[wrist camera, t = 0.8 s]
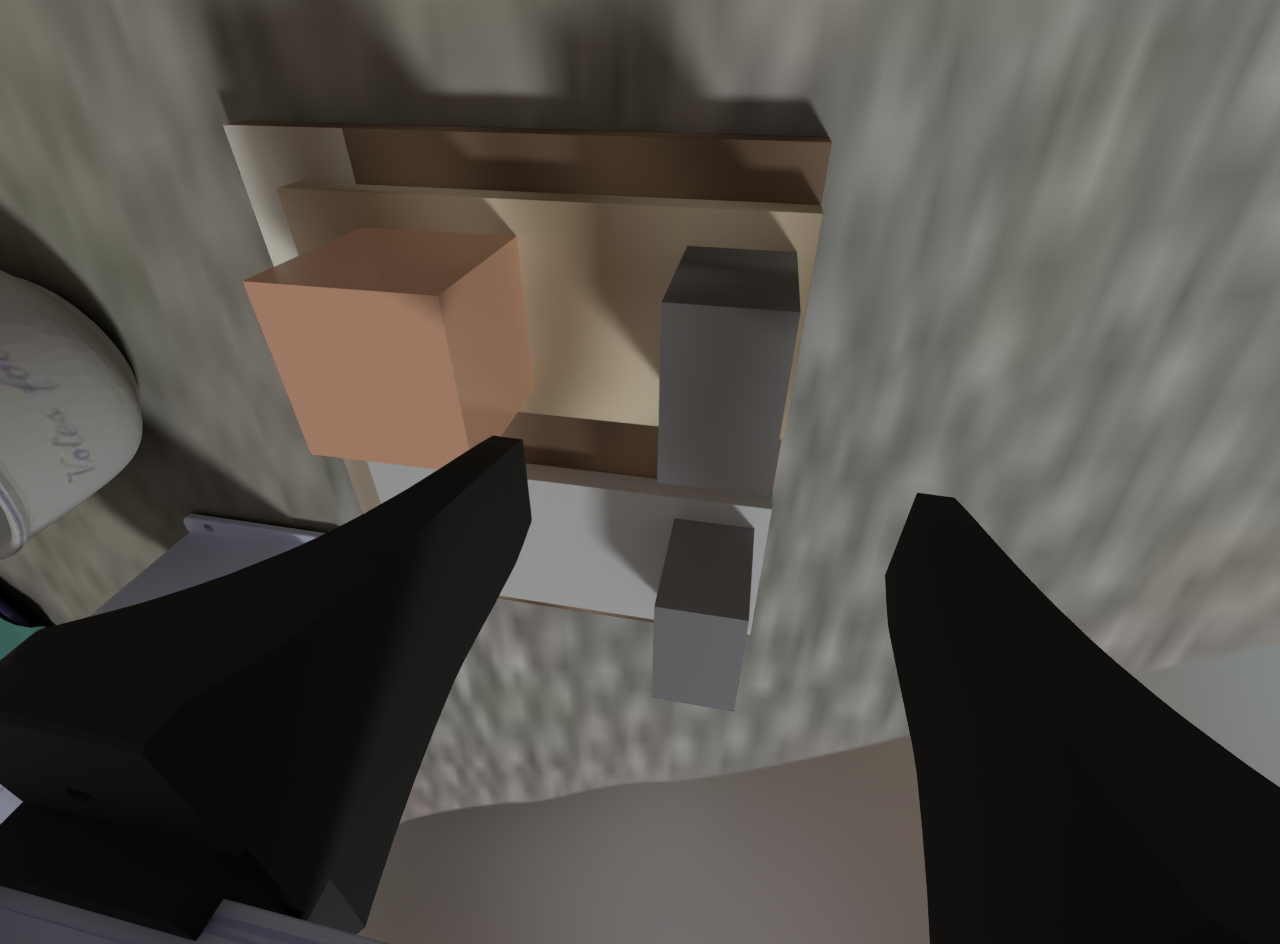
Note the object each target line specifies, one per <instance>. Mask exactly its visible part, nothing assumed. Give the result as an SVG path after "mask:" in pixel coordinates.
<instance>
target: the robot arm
mask: <svg viewBox="0 0 1280 944" xmlns="http://www.w3.org/2000/svg"><path fill="white" fill-rule="evenodd" d="M183 522H184V525H185V526H186V528H187V530H188V531H189V533H188V534H187V535H186V536H185V537H183V538H182V539H181V540H180V541H179V542H177V543H176V544H175V545H174V546H173V547H171V548H170V549H169V550H168V551H167V552H165V553H164V554H163V555H162V556H161V557H160V558H158V559H157V560H156V561H155V562H154V563H152V564H151V565H150V566H149V567H148V568H146V569H145V570H144V571H143V572H142V573H140V574H139V575H138V576H137V577H136V578H134V579H133V580H132V581H131V582H130V583H129V584H127V585H126V586H125V587H124V588H123V589H121V590H120V591H119V592H118V593H117V594H115V595H114V596H113V597H112V598H111V599H109V600H108V601H107V602H106V603H105V604H103V605H102V606H101V607H100V608H99V609H98V610H97V611H96V612H95V613H94V614H93V615H92V616H90V617H87V618H83V619H79V620H75V621H72V622H68V623H64V624H60V625H56V626H52V627H48V628H44V629H40V630H38V631H36V632H35V633H33V634H32V635H31V636H29V637H28V638H27V639H26V640H24V641H23V642H22V643H21V644H19V645H18V646H17V647H16V648H15V649H13V650H12V651H11V652H10V653H8V654H7V655H6V656H5V657H3V658H2V659H1V660H0V944H389V943H386V942H382V941H378V940H375V939H371V938H367V937H363V936H360V935H356V934H357V933H359V932H360V931H361V930H362V929H363V928H365V926H366V923H367V919H368V916H369V913H370V910H371V906H372V903H373V900H374V897H375V894H376V891H377V888H378V885H379V882H380V879H381V876H382V873H383V870H384V867H385V864H386V861H387V858H388V855H389V852H390V848H391V845H392V842H393V839H394V836H395V834H396V831H397V828H398V825H399V823H400V820H401V817H402V814H403V811H404V809H405V806H406V803H407V800H408V797H409V795H410V792H411V789H412V786H413V783H414V781H415V778H416V775H417V773H418V770H419V768H420V765H421V762H422V760H423V757H424V755H425V752H426V749H427V747H428V744H429V742H430V739H431V737H432V734H433V731H434V729H435V726H436V724H437V721H438V719H439V717H440V714H441V712H442V709H443V707H444V704H445V702H446V700H447V697H448V695H449V692H450V690H451V688H452V685H453V683H454V680H455V678H456V676H457V674H458V672H459V670H460V668H461V666H462V664H463V662H464V660H465V658H466V656H467V654H468V652H469V650H470V649H471V647H472V645H473V643H474V641H475V639H476V637H477V636H478V634H479V632H480V630H481V628H482V626H483V625H484V623H485V621H486V619H487V617H488V615H489V613H490V612H491V610H492V608H493V606H494V604H495V602H496V601H497V599H498V597H499V595H500V593H501V591H502V589H503V587H504V586H505V584H506V582H507V580H508V578H509V576H510V574H511V572H512V570H513V568H514V566H515V565H516V562H517V560H518V557H519V554H520V552H521V549H522V547H523V544H524V541H525V539H526V536H527V533H528V530H529V527H530V524H531V522H532V516H531V507H530V498H529V489H528V480H527V471H526V462H525V454H524V445H523V439H516V438H509V437H501V436H494V435H493V436H491V437H489V438H487V439H486V440H484V441H482V442H481V443H479V444H477V445H476V446H474V447H472V448H471V449H469V450H468V451H466V452H465V453H463V454H462V455H460V456H458V457H457V458H455V459H454V460H452V461H451V462H449V463H448V464H446V465H444V466H443V467H441V468H440V469H438V470H437V471H435V472H433V473H432V474H430V475H429V476H427V477H425V478H424V479H422V480H421V481H419V482H417V483H416V484H414V485H413V486H411V487H409V488H408V489H406V490H404V491H403V492H401V493H399V494H397V495H396V496H394V497H392V498H390V499H389V500H387V501H385V502H383V503H382V504H380V505H378V506H376V507H375V508H373V509H371V510H369V511H368V512H366V513H364V514H362V515H361V516H359V517H357V518H355V519H353V520H351V521H349V522H348V523H346V524H344V525H342V526H340V527H338V528H336V529H334V530H332V531H330V532H327V533H321V532H314V531H307V530H301V529H294V528H287V527H280V526H273V525H266V524H259V523H252V522H245V521H239V520H232V519H225V518H218V517H211V516H204V515H197V514H189V515H188V516H187V517H185V518H184V520H183ZM885 582H886V603H887V616H888V628H889V633H890V638H891V643H892V648H893V653H894V658H895V663H896V668H897V673H898V678H899V683H900V688H901V693H902V697H903V702H904V707H905V712H906V717H907V722H908V726H909V731H910V736H911V741H912V746H913V752H914V758H915V765H916V771H917V780H918V790H919V800H920V811H921V821H922V830H923V845H924V856H925V871H926V883H927V897H928V915H929V934H930V944H1280V787H1279V786H1277V785H1276V784H1274V783H1273V782H1271V781H1270V780H1268V779H1267V778H1265V777H1264V776H1263V775H1261V774H1260V773H1258V772H1257V771H1255V770H1254V769H1253V768H1251V767H1250V766H1248V765H1247V764H1245V763H1244V762H1243V761H1241V760H1240V759H1239V758H1237V757H1236V756H1234V755H1233V754H1232V753H1231V752H1229V751H1228V750H1226V749H1225V748H1224V747H1222V746H1221V745H1220V744H1218V743H1217V742H1216V741H1214V740H1213V739H1212V738H1210V737H1209V736H1208V735H1206V734H1205V733H1204V732H1202V731H1201V730H1200V729H1198V728H1197V727H1195V726H1194V725H1193V724H1191V723H1190V722H1189V721H1187V720H1186V719H1185V718H1184V717H1182V716H1181V715H1180V714H1178V713H1177V712H1176V711H1175V710H1173V709H1172V708H1171V707H1170V706H1168V705H1167V704H1166V703H1164V702H1163V701H1162V700H1161V699H1159V698H1158V697H1157V696H1156V695H1155V694H1153V693H1152V692H1151V691H1150V690H1149V689H1147V688H1146V687H1145V686H1144V685H1143V684H1141V683H1140V682H1139V681H1138V680H1137V679H1136V678H1134V677H1133V676H1132V675H1131V674H1130V673H1128V672H1127V671H1126V670H1125V669H1124V668H1122V667H1121V666H1120V665H1119V664H1118V663H1116V662H1115V661H1114V660H1113V659H1112V658H1111V657H1110V656H1108V655H1107V654H1106V653H1105V652H1104V651H1103V650H1102V649H1101V648H1099V647H1098V646H1097V645H1096V644H1095V643H1094V642H1093V641H1092V640H1091V639H1090V638H1089V637H1088V636H1086V635H1085V634H1084V633H1083V632H1082V631H1081V630H1080V629H1079V628H1078V627H1077V626H1076V625H1075V624H1074V623H1073V622H1072V621H1071V620H1070V619H1069V618H1068V617H1067V616H1065V615H1064V614H1063V613H1062V612H1061V611H1060V610H1059V609H1058V608H1057V607H1056V606H1055V605H1054V604H1053V603H1052V602H1051V601H1050V600H1049V599H1048V598H1047V597H1046V596H1045V595H1044V594H1043V593H1042V592H1041V591H1040V590H1039V589H1038V588H1037V587H1036V585H1035V584H1034V583H1033V582H1032V581H1031V580H1030V579H1029V578H1028V577H1027V576H1026V575H1025V574H1024V573H1023V572H1022V571H1021V570H1020V569H1019V568H1018V567H1017V565H1016V564H1015V563H1014V562H1013V561H1012V560H1011V559H1010V558H1009V557H1008V556H1007V555H1006V553H1005V552H1004V551H1003V550H1002V549H1001V548H1000V547H999V546H998V545H997V544H996V542H995V541H994V540H993V539H992V538H991V537H990V536H989V535H988V534H987V532H986V531H985V530H984V529H983V528H982V527H981V526H980V525H979V524H978V522H977V521H976V520H975V519H974V518H973V517H972V516H971V515H970V514H969V513H968V511H967V510H966V509H965V508H964V507H963V506H962V505H961V504H960V503H959V502H958V501H957V500H956V499H955V498H952V497H945V496H937V495H930V494H923V493H917V495H916V497H915V500H914V502H913V505H912V508H911V510H910V513H909V515H908V518H907V520H906V523H905V526H904V528H903V531H902V533H901V536H900V538H899V541H898V543H897V546H896V549H895V551H894V554H893V556H892V559H891V561H890V564H889V567H888V569H887V572H886V574H885Z"/></svg>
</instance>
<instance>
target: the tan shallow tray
mask: <svg viewBox="0 0 1280 944" xmlns="http://www.w3.org/2000/svg"><path fill="white" fill-rule="evenodd" d="M276 189H277V192H278V195H279V198H280V201H281V204H282V207H283V210H284V213H285V216H286V219H287V222H288V225H289V228H290V231H291V234H292V237H293V240H294V243H295V246H296V249H297V253H298V256H299V255H301V254H304V253H306V252H308V251H310V250H312V249H314V248H317V247H319V246H321V245H323V244H325V243H328V242H330V241H332V240H334V239H336V238H338V237H341V236H343V235H345V234H347V233H349V232H352V231H354V230H356V229H358V228H360V227H365V228H383V229H400V230H418V231H435V232H453V233H470V234H488V235H506V236H517V242H518V251H519V259H520V268H521V276H522V285H523V294H524V302H525V311H526V319H527V328H528V336H529V345H530V354H531V362H532V371H533V379H534V388H535V389H534V390H533V391H532V393H531V394H530V396H529V397H528V399H527V400H526V401H525V403H524V404H523V406H522V407H521V408H520V410H519V411H518V412H526V413H535V414H545V415H554V416H564V417H574V418H583V419H593V420H602V421H612V422H621V423H631V424H640V425H650V426H658V467H657V483H665V484H673V485H682V486H690V487H698V488H707V489H715V490H723V491H732V492H740V493H749V494H757V495H765V496H770V492H771V486H772V480H773V474H774V468H775V463H776V457H777V451H778V445H779V439H784V436H785V431H786V425H787V419H788V413H789V407H790V402H791V396H792V390H793V384H794V379H795V373H796V367H797V361H798V355H799V350H800V344H801V338H802V332H803V327H804V321H805V315H806V309H807V303H808V298H809V292H810V286H811V280H812V275H813V269H814V263H815V257H816V251H817V246H818V240H819V234H820V228H821V223H822V217H823V211H822V207H821V205H810V204H787V203H765V202H743V201H720V200H698V199H676V198H653V197H631V196H609V195H587V194H564V193H542V192H520V191H497V190H475V189H453V188H430V187H408V186H386V185H364V184H341V183H319V182H294V183H291V184H288V185H285V186H281V187H278V188H276Z"/></svg>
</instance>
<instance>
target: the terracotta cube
mask: <svg viewBox="0 0 1280 944" xmlns="http://www.w3.org/2000/svg"><path fill="white" fill-rule="evenodd" d="M243 283H244V286H245V288H246V291H247V293H248V296H249V298H250V301H251V303H252V306H253V309H254V311H255V314H256V316H257V319H258V321H259V324H260V326H261V329H262V331H263V334H264V336H265V339H266V341H267V344H268V346H269V349H270V351H271V354H272V356H273V359H274V361H275V364H276V366H277V369H278V372H279V374H280V377H281V379H282V382H283V384H284V387H285V389H286V392H287V394H288V397H289V399H290V402H291V404H292V407H293V409H294V412H295V414H296V417H297V419H298V422H299V424H300V427H301V429H302V432H303V435H304V437H305V440H306V442H307V445H308V447H309V450H310V452H311V454H315V455H323V456H331V457H339V458H347V459H355V460H363V461H371V462H380V463H388V464H396V465H404V466H412V467H420V468H428V469H436V470H438V469H440V468H441V467H443V466H444V465H446V464H448V463H449V462H451V461H452V460H454V459H455V458H457V457H458V456H460V455H462V454H463V453H465V452H466V451H468V450H469V449H471V448H472V447H474V446H476V445H477V444H479V443H481V442H482V441H484V440H486V439H487V438H489V437H491V436H493V435H494V436H501V435H502V434H503V433H504V431H505V430H506V428H507V427H508V425H509V424H510V423H511V421H512V420H513V418H514V417H515V416H516V414H517V413H518V411H519V410H520V408H521V407H522V406H523V404H524V403H525V401H526V400H527V399H528V397H529V396H530V394H531V393H532V391H533V390H534V389H535V388H534V379H533V371H532V362H531V354H530V345H529V336H528V328H527V319H526V311H525V302H524V294H523V285H522V276H521V268H520V259H519V251H518V242H517V236H506V235H488V234H470V233H453V232H435V231H418V230H400V229H383V228H365V227H360V228H358V229H356V230H354V231H352V232H349V233H347V234H345V235H343V236H341V237H338V238H336V239H334V240H332V241H330V242H328V243H325V244H323V245H321V246H319V247H317V248H314V249H312V250H310V251H308V252H306V253H304V254H301V255H299V256H297V257H295V258H293V259H290V260H288V261H286V262H284V263H282V264H279V265H277V266H275V267H273V268H271V269H269V270H266V271H264V272H262V273H260V274H258V275H255V276H253V277H251V278H249V279H247V280H245V281H243Z"/></svg>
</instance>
